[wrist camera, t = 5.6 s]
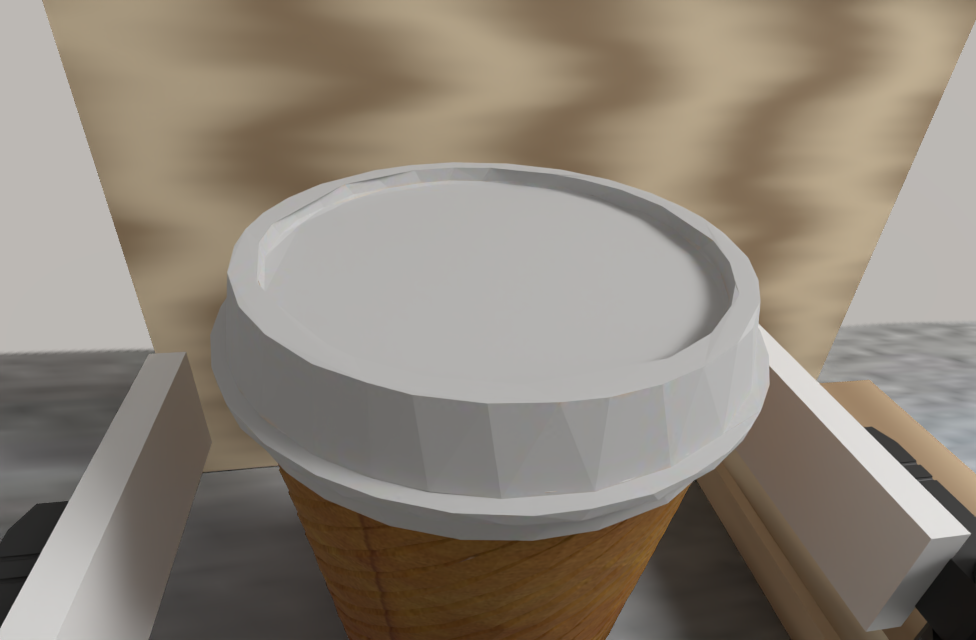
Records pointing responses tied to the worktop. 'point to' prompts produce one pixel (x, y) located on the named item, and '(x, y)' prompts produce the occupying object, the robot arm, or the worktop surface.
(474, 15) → the pine panel
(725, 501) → the offcut stack
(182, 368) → the robot arm
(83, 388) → the worktop surface
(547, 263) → the disposable coffee cup
